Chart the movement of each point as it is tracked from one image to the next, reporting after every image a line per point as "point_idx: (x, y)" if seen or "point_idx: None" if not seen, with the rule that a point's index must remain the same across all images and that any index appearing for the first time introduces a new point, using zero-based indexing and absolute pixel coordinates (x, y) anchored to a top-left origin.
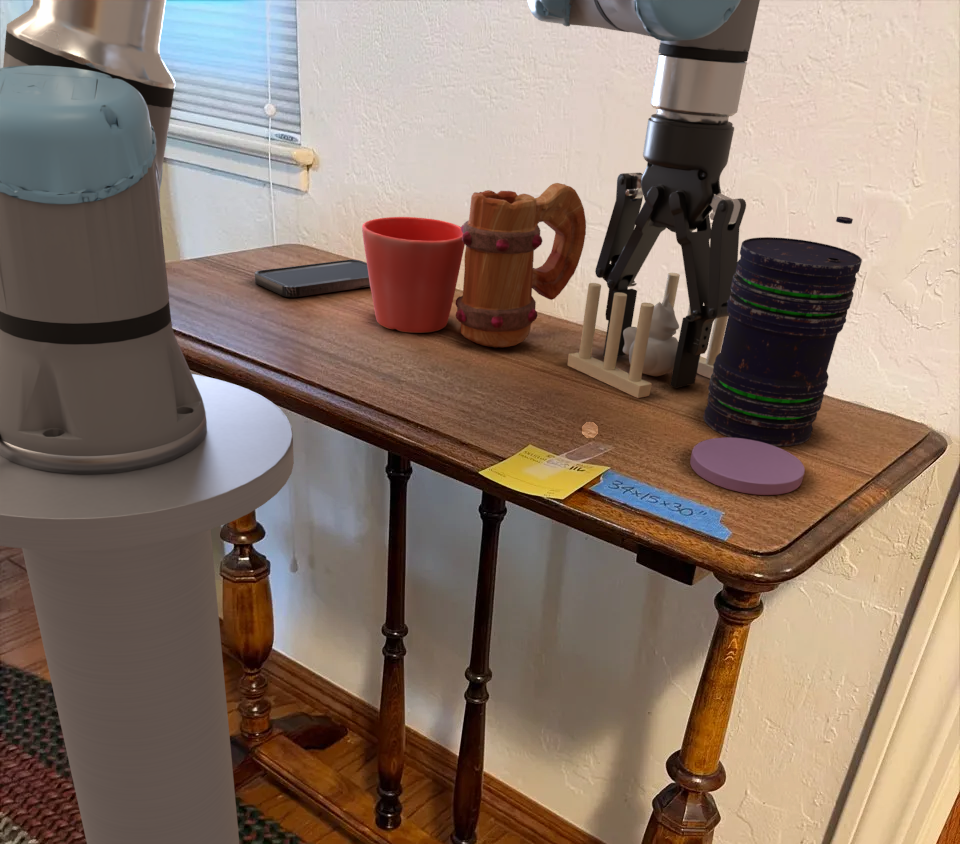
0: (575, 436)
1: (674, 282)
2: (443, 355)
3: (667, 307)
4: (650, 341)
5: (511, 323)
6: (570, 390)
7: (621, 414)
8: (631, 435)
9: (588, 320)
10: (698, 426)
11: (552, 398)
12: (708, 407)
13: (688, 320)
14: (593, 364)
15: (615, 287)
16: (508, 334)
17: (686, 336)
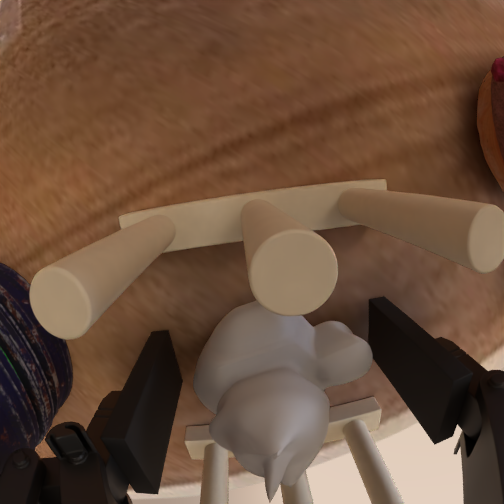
0: (44, 11)
1: None
2: (457, 8)
3: (260, 464)
4: (245, 359)
5: (500, 101)
6: (225, 84)
7: (71, 124)
8: (7, 100)
9: (392, 197)
10: (2, 244)
11: (196, 26)
12: (5, 284)
13: (76, 423)
14: (296, 190)
15: (477, 387)
16: (491, 114)
17: (117, 406)
